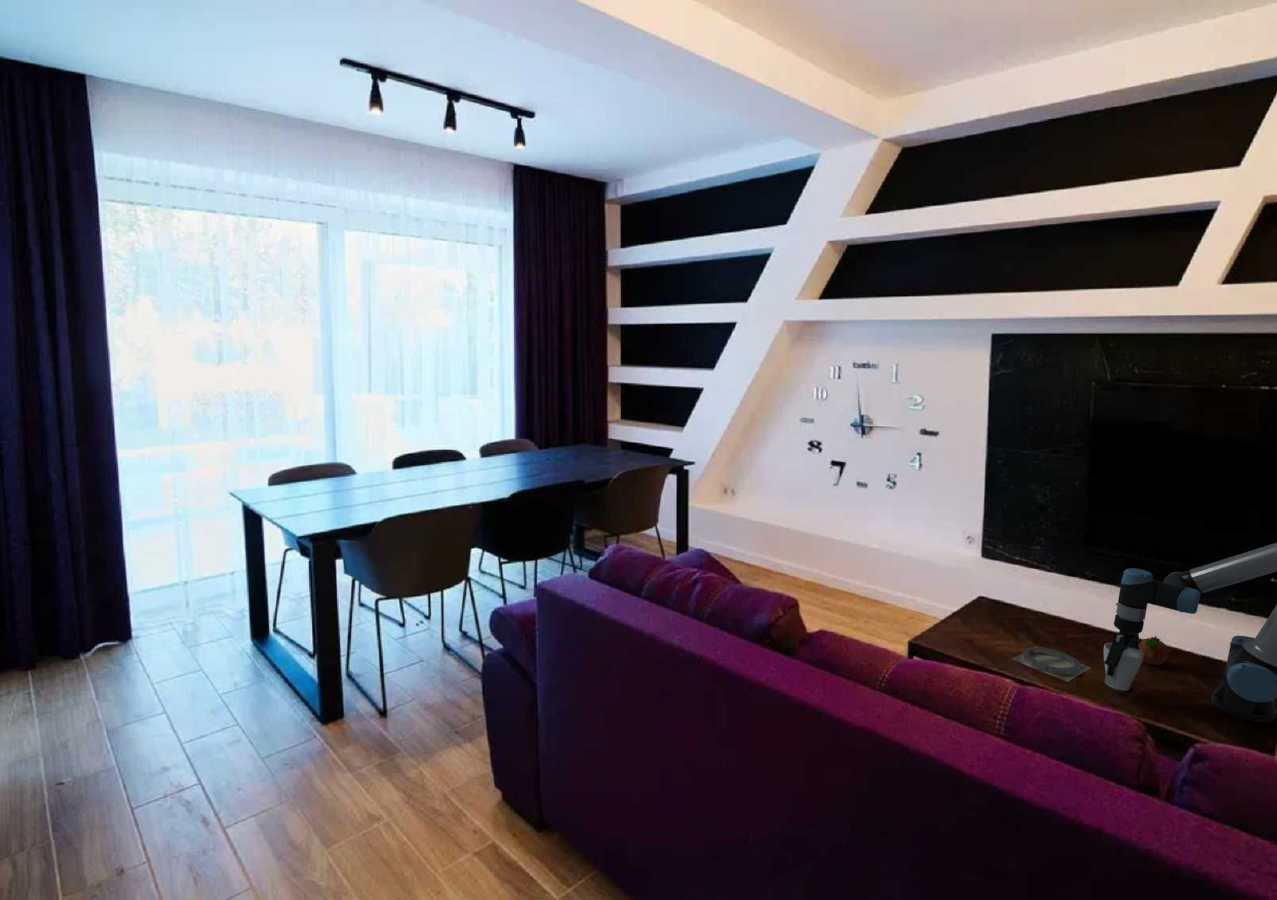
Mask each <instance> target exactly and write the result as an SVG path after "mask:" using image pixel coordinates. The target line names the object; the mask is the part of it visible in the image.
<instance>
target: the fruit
mask: <svg viewBox="0 0 1277 900" xmlns="http://www.w3.org/2000/svg"><path fill="white" fill-rule="evenodd" d="M1139 651H1141V652H1142V653H1143V654H1144V657H1143V660H1142V662H1145V663H1146V664H1149V665H1153V666H1160V665H1162V664H1164V663H1165V662H1166V661H1167V660H1168V658H1169V649H1168V646H1167V645H1166V644H1165V642H1163V641H1162V640H1161V639H1160V638H1158V637H1157V636H1156V635H1155V636H1154V637H1153V636H1150V637H1147V638H1144V639H1143V640H1141V641H1139Z"/></svg>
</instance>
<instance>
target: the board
mask: <svg viewBox="0 0 1277 900" xmlns="http://www.w3.org/2000/svg"><path fill="white" fill-rule="evenodd" d="M1030 657H1032V658H1033V659H1034V660H1036V661H1038V662H1040V663H1043V664H1045V665H1048V666H1052V667H1057V668H1072V667H1073V665H1071V664H1070V663H1068V662H1067V661H1065V660H1063V659H1060V658H1057V657H1055V656H1050V655H1045V654H1032V655H1030ZM1011 660H1012V661H1015V662H1018V664H1019V663H1020V664H1022V665H1025V666H1027V667H1030V668H1033V669H1034V670H1037V671H1039V672H1042V673H1045V674H1047V675H1049V676H1052V677H1054V678H1057V679H1059V680H1061V681H1064V682H1070V681H1071V680H1073V679H1075V678H1076V677H1078V676H1079V675H1082V674H1084V673H1085V672H1087V671H1089V670H1090V669H1091V668H1092V667H1091V666H1088V665H1085V664H1083V663H1080V662H1079V664H1080V666H1081V668H1080V672H1079V673H1077V674H1076V675H1057V674H1052V673H1047V672H1044V671H1042V670H1040V669H1037V668H1035V667H1032V666H1031V665H1030V664H1028V663H1027V662H1026V661H1024V658H1023V652H1022V653H1020V654H1018V655H1016V656H1015V657H1012V658H1011Z"/></svg>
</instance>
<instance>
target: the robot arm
mask: <svg viewBox="0 0 1277 900" xmlns="http://www.w3.org/2000/svg"><path fill="white" fill-rule="evenodd" d="M1276 572H1277V542H1275V543H1271V544H1268V545H1264V546H1262V547H1259V548H1258V547H1257V548H1255V549H1252V550H1249V551H1246V552H1243V553H1240V554H1236V555H1234V556H1231V557H1226V558H1224V559H1220V560H1218V561H1215V562H1214V561H1213V562H1211V563H1209V564H1204V565H1202V566H1198V567H1194V568H1192V569H1189V570H1184V571H1183V572H1181V571H1175V572H1171V573H1169V574H1168V575H1167V576H1165V578H1164V580H1163V581H1158V580H1156V579H1154V577H1153V576H1154V575H1153V574H1152V573H1151V572H1150V571H1149V570H1144V569H1141V568H1135V567H1134V568H1126V569H1125V570H1124V571H1123V575H1122V578H1121V580H1120V581H1121V582H1120V587H1119V594H1118V599H1117V602H1115V606H1116V611H1115V613H1116V614H1114V615H1115V616H1114V620H1113V621H1114V622H1113V626H1114V627H1115V628H1116V629H1118V630H1119V632H1117V634H1114V635H1113V639H1112V642H1111V643H1112V645H1111V648H1110V650H1109V653H1108V656H1107V659H1106V661H1105V662H1104V661H1103V664H1104V663H1105V664H1107V671H1105V677H1104V682H1103V683H1104V684H1106V685H1107V684H1108V685H1111V686H1113V687H1114V686H1115V683H1116V677H1117V672H1118V667H1117V665H1118V663H1119V661H1120V659H1121V656H1122V655H1123V652H1124V650H1126V649H1127V648H1128V647H1129V648H1133V649H1134V648H1136V649H1138V650H1139V644H1140V634H1141V633H1142V632H1143V630H1144V624H1145V619H1146V615H1147V609H1148V604H1149V605H1153V606H1157V607H1161V608H1165V609H1168V610H1173V611H1176V612H1180V613H1185V614H1189V615H1190V614H1191V615H1194V614H1196V613H1197V612H1198V609H1199V603H1200V598H1201V594H1203V593H1207V592H1210V591H1214V590H1217V589H1221V588H1224V587H1228V586H1231V585H1235V584H1238V583H1241V582H1245V581H1249V580H1252V579H1256V578H1259V577H1262V576H1266V575H1269V574H1272V573H1276ZM1230 640H1231V641H1230V642H1229V650H1228V655H1227V659H1226V665H1225V669H1224V674H1223V677H1222V678H1223V679H1222V680H1221V682H1220V683H1219V684H1218V685H1217V687H1216V688H1215V690H1214V691H1213V692H1212V694H1211V699H1210V702H1211V704H1212V705H1213V706H1214V707H1215V708H1217V709H1218V710H1219V711H1221V712H1223V713H1224V714H1227V715H1229V716H1231V717H1234V718H1237V719H1240V720H1243V721H1246V720H1263V719H1267V718H1271V717H1272V716H1275V715H1276V713H1277V708H1276V703H1275V700H1276V699H1277V604H1276V605H1275V607H1274V609H1273V610H1272V611H1271V613H1270V615H1269V616H1268V618H1267V619H1266V621H1265V622H1264V624H1263V625H1262V627H1261V629H1260V630H1259V631H1258V633H1257V635H1256V636H1255V637H1252V636H1248V635H1247V636H1246V635H1234V636H1232V638H1231V639H1230ZM1105 664H1104V665H1105ZM1108 685H1107V686H1108Z"/></svg>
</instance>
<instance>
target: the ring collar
mask: <svg viewBox="0 0 1277 900" xmlns="http://www.w3.org/2000/svg"><path fill="white" fill-rule="evenodd" d="M1022 653H1023V658H1024V661H1026V662H1027V663H1028V664H1030V665H1031V666H1032V667H1035V668H1037V669H1040V670H1042V671H1044V672H1047V673H1052V674H1057V675H1076V674H1077V673H1079V672H1080V668H1081V666H1080V664H1081V663H1080V662H1079V660H1077V659H1076V658H1074V657H1073V656H1072V655H1069V654H1067V653H1065V652H1062V651H1060V650H1057V649H1052V648H1047V647H1042V646H1041V647H1040V646H1031V647H1028V648H1025V649H1023V652H1022ZM1032 654H1045V655H1050V656H1055V657H1057V658H1060V659H1063V660H1065V661H1067V662H1068V663H1070V664H1071V665H1073V667H1072V668H1057V667H1052V666H1048V665H1045V664H1043V663H1040V662H1038V661H1036V660H1034V659H1033V658H1032V657H1030V655H1032ZM1079 663H1080V664H1079ZM1032 667H1031V668H1032ZM1037 669H1036V670H1037ZM1042 671H1041V672H1042ZM1044 672H1043V673H1044ZM1047 673H1046V674H1047Z"/></svg>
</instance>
